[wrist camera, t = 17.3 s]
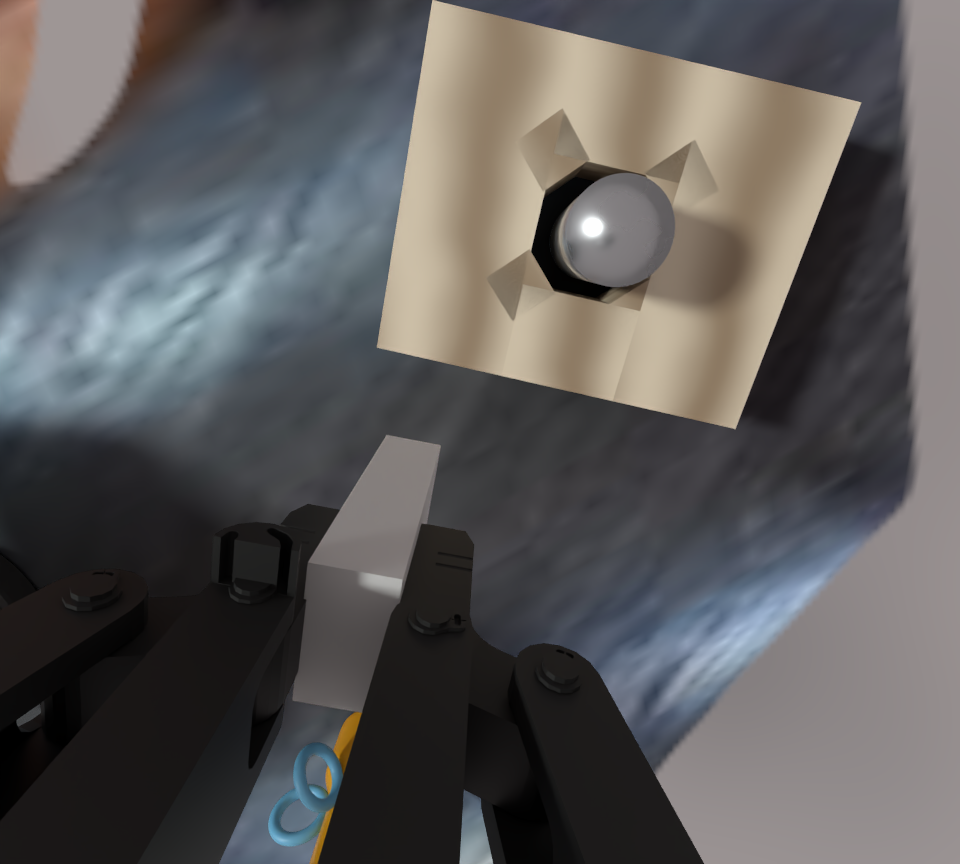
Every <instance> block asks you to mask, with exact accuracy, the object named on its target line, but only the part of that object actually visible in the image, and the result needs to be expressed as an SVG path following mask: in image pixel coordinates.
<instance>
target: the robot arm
mask: <svg viewBox="0 0 960 864" xmlns="http://www.w3.org/2000/svg"><path fill="white" fill-rule="evenodd" d="M440 448H441V445H436V444H431V443H426V442H421V441H415V440H410V439H405V438H400V437H394V436H389V435H386V437H385V438H384V440H383V442H382V443H381V445H380V447H379V448H378V450H377V451H376V453H375V455H374V456H373V458H372V459H371V461H370V463H369V464H368V466H367V468H366V469H365V471H364V472H363V474H362V476H361V477H360V479H359V480H358V482H357V484H356V485H355V487H354V489H353V490H352V492H351V493H350V495H349V497H348V498H347V500H346V501H345V503H344V505H343V506H342V508H341V510H338V509H332V508H327V507H322V506H316V505H311V504H307V505H305V506H303V507H301V508H299V509H297V510H295V511H292V512H290V513H289V515H288V516H287V517H286V518H285V520H284V521H283V522H282V523H281V525H280V526H279V525H276V524H271V523H259V522H254V523H244V524H237V525H234V526H231V527H228V528H224V529H223V530H221V531H219V532H218V533H216V534H215V535H213V543H212V562H211V582H210V583H209V584H208V586H207V587H206V588H205V589H204V590H203V591H202V592H201V594H200V595H195V596H184V597H157V598H148V587H147V584H146V582H145V580H144V579H143V578H142V577H140V576H138V575H137V574H135V573H133V572H129V571H124V570H119V569H96V570H91V571H86V572H81V573H76V574H73V575H71V576H68V577H66V578H63V579H60V580H58V581H56V582H54V583H52V584H50V585H48V586H46V587H44V588H42V589H40V590H38V591H36V590H35V589H34V587H33V586H32V584H31V583H30V582H29V581H28V579H27V578H26V577H25V576H24V575H23V574H22V573H21V572H20V571H19V570H18V569H17V568H16V567H15V566H14V565H13V564H12V563H11V562H9V561H8V560H7V559H6V558H4V557H3V556H2V555H0V864H219V862H220V860H221V858H222V856H223V853H224V851H225V849H226V847H227V845H228V842H229V840H230V838H231V836H232V833H233V831H234V829H235V827H236V825H237V822H238V820H239V818H240V816H241V814H242V811H243V809H244V807H245V805H246V803H247V800H248V798H249V796H250V794H251V792H252V789H253V787H254V785H255V783H256V781H257V778H258V776H259V774H260V772H261V770H262V767H263V765H264V763H265V761H266V758H267V756H268V754H269V752H270V750H271V747H272V745H273V743H274V741H275V739H276V736H277V734H278V732H279V730H280V728H281V723H282V718H283V712H284V703H285V698H286V696H287V694H288V692H289V690H290V688H291V685H292V683H293V681H294V679H295V682H294V691H293V699H292V701H296V702H302V703H308V704H314V705H320V706H325V707H331V708H337V709H343V710H349V711H355V712H360V713H362V714H361V717H360V721H359V724H358V727H357V731H356V734H355V738H354V741H353V744H352V748H351V751H350V755H349V758H348V761H347V765H346V768H345V772H344V775H343V778H342V782H341V785H340V788H339V792H338V795H337V799H336V802H335V805H334V809H333V812H332V816H331V819H330V822H329V826H328V829H327V833H326V836H325V839H324V843H323V846H322V850H321V853H320V856H319V860H318V863H317V864H459V861H460V844H461V826H462V809H463V792H464V789H465V790H466V791H468V792H470V793H472V794H474V795H476V796H478V797H480V798H481V809H482V813H483V818H484V823H485V827H486V832H487V836H488V841H489V845H490V850H491V855H492V859H493V864H704V863H703V861H702V859H701V857H700V855H699V854H698V852H697V850H696V848H695V846H694V845H693V843H692V841H691V839H690V837H689V836H688V834H687V832H686V830H685V829H684V827H683V825H682V823H681V821H680V819H679V818H678V816H677V814H676V812H675V810H674V809H673V807H672V805H671V803H670V801H669V800H668V798H667V796H666V794H665V792H664V791H663V789H662V787H661V785H660V783H659V781H658V780H657V778H656V776H655V774H654V772H653V771H652V769H651V767H650V765H649V763H648V762H647V760H646V758H645V756H644V754H643V752H642V751H641V749H640V747H639V745H638V743H637V742H636V740H635V738H634V736H633V734H632V733H631V731H630V729H629V727H628V725H627V724H626V722H625V720H624V718H623V716H622V715H621V713H620V711H619V709H618V707H617V706H616V704H615V702H614V700H613V698H612V697H611V695H610V693H609V691H608V689H607V687H606V686H605V684H604V682H603V680H602V678H601V677H600V675H599V673H598V672H597V671H596V670H595V668H594V667H593V666H592V665H591V663H590V662H589V661H587V660H586V659H585V658H583V657H582V656H580V655H579V654H578V653H576V652H574V651H572V650H569V649H567V648H564V647H562V646H559V645H552V644H545V643H543V644H537V645H530V646H529V647H527V648H525V649H524V650H522V651H521V652H520V653H519V655H518V657H517V658H516V657H514V656H511V655H509V654H507V653H504V652H502V651H500V650H498V649H496V648H494V647H492V646H491V645H489V644H488V643H487V642H485V641H484V640H483V639H481V638H480V636H479V635H478V634H477V633H476V632H475V631H474V629H473V627H472V622H471V618H470V615H469V613H470V598H471V583H472V568H473V552H474V544H473V542H472V541H471V539H470V538H469V536H468V534H467V533H466V531H460V530H455V529H450V528H444V527H439V526H434V525H428V524H427V519H428V513H429V508H430V502H431V497H432V491H433V486H434V480H435V475H436V470H437V464H438V459H439V453H440ZM38 704H40V705H41V714H39V715H38V716H36V717H35V718H34V719H32V720H31V721H29V722H27V723H25V724H23V725H21V726H19V727H18V726H17V723H16V720H17V719H18V718H20V717H21V716H23V715H24V714H26V713H27V712H28V711H30V710H31V709H33V708H34V707H35V706H37V705H38Z"/></svg>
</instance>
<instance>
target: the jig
mask: <svg viewBox="0 0 960 864" xmlns="http://www.w3.org/2000/svg"><path fill="white" fill-rule="evenodd" d="M860 105H861V102H857V101H853V100H849V99H844V98H840V97H836V96H832V95H828V94H824V93H819V92H815V91H811V90H807V89H803V88H798V87H794V86H790V85H786V84H782V83H777V82H773V81H769V80H765V79H761V78H756V77H752V76H748V75H744V74H740V73H735V72H731V71H727V70H723V69H719V68H715V67H710V66H706V65H702V64H698V63H694V62H689V61H685V60H681V59H677V58H673V57H668V56H664V55H660V54H656V53H652V52H647V51H643V50H639V49H635V48H631V47H627V46H622V45H618V44H614V43H610V42H606V41H601V40H597V39H593V38H589V37H585V36H580V35H576V34H572V33H568V32H564V31H559V30H555V29H551V28H547V27H543V26H538V25H534V24H530V23H526V22H522V21H518V20H513V19H509V18H505V17H501V16H497V15H492V14H488V13H484V12H480V11H476V10H471V9H467V8H463V7H459V6H455V5H450V4H446V3H442V2H438V1H434V0H433V1H432V7H431V13H430V19H429V26H428V32H427V38H426V44H425V51H424V57H423V63H422V69H421V76H420V82H419V88H418V94H417V100H416V107H415V113H414V119H413V125H412V132H411V138H410V144H409V150H408V157H407V163H406V169H405V175H404V182H403V188H402V194H401V200H400V207H399V213H398V219H397V225H396V232H395V238H394V244H393V250H392V257H391V263H390V269H389V275H388V282H387V288H386V294H385V300H384V307H383V313H382V319H381V325H380V332H379V338H378V344H377V348H382V349H386V350H390V351H395V352H399V353H404V354H408V355H412V356H417V357H421V358H426V359H430V360H434V361H439V362H443V363H448V364H452V365H456V366H461V367H465V368H470V369H474V370H478V371H483V372H487V373H492V374H496V375H500V376H505V377H509V378H514V379H518V380H522V381H527V382H531V383H536V384H540V385H544V386H549V387H553V388H558V389H562V390H566V391H571V392H575V393H580V394H584V395H588V396H593V397H597V398H602V399H606V400H610V401H615V402H619V403H624V404H628V405H632V406H637V407H641V408H646V409H650V410H654V411H659V412H663V413H668V414H672V415H676V416H681V417H685V418H690V419H694V420H698V421H703V422H707V423H711V424H716V425H720V426H725V427H729V428H733V429H736V426H737V424H738V421H739V418H740V416H741V413H742V411H743V408H744V405H745V403H746V400H747V398H748V395H749V392H750V390H751V387H752V385H753V382H754V379H755V377H756V374H757V372H758V369H759V367H760V364H761V361H762V359H763V356H764V354H765V351H766V348H767V346H768V343H769V341H770V338H771V335H772V333H773V330H774V328H775V325H776V322H777V320H778V317H779V315H780V312H781V309H782V307H783V304H784V302H785V299H786V296H787V294H788V291H789V289H790V286H791V284H792V281H793V278H794V276H795V273H796V271H797V268H798V265H799V263H800V260H801V258H802V255H803V252H804V250H805V247H806V245H807V242H808V239H809V237H810V234H811V232H812V229H813V226H814V224H815V221H816V219H817V216H818V214H819V211H820V208H821V206H822V203H823V201H824V198H825V195H826V193H827V190H828V188H829V185H830V182H831V180H832V177H833V175H834V172H835V169H836V167H837V164H838V162H839V159H840V156H841V154H842V151H843V149H844V146H845V143H846V141H847V138H848V136H849V133H850V131H851V128H852V125H853V123H854V120H855V118H856V115H857V112H858V110H859V107H860ZM618 173H632V174H638V175H641V176H644V177H646V178H648V179H650V180H651V181H653V182H654V183H656V184H657V185H658V186H659V187H660V188H661V189H662V190H663V191H664V192H665V194H666V195H667V197H668V199H669V200H670V203H671V205H672V208H673V212H674V217H675V235H674V240H673V244H672V246H671V249H670V251H669V253H668V255H667V257H666V259H665V260H664V262H663V263H662V264H661V266H660V267H659V268H658V269H657V270H656V271H655V272H654V273H653V274H652V275H650V276H649V277H647V278H646V279H644V280H642V281H640V282H638V283H636V284H633V285H629V286H624V287H611V288H610V289H608V290H607V291H605V292H603V293H602V294H600V295H599V296H597V297H595V298H593V297H589V296H584V295H580V294H576V293H571V292H567V291H563V290H558V289H554V288H552V287H551V285H550V284H549V282H548V280H547V278H546V277H545V275H544V273H543V272H542V270H541V268H540V266H539V265H538V263H537V261H536V259H535V258H534V256H533V254H532V253H531V249H532V245H533V240H534V236H535V232H536V228H537V223H538V219H539V215H540V211H541V206H542V202H543V198H545V197H546V196H548V195H549V194H551V193H552V192H554V191H555V190H557V189H558V188H559V187H561V186H562V185H564V184H565V183H567V182H568V181H570V180H571V179H573V178H574V177H578V178H582V179H587V180H591V181H595V182H596V181H598V180H599V179H601V178H604V177H606V176H609V175H613V174H618Z"/></svg>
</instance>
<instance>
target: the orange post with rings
mask: <svg viewBox="0 0 960 864" xmlns="http://www.w3.org/2000/svg"><path fill="white" fill-rule="evenodd" d="M361 714H362V713H360V712H354V713H353V714H352V715H350V716H349V717H348V718H347V719H346V721H345V722H344V723H343V725H342V728H341V730H340V733H339V736H338V739H337V741H336V744H335V747H334V750H332V749H331V748H330V747H328V746H327V745H325V744H323V743H318V742H315V743H311V744H308V745H307V746H305V747H304V748H303V749H302V750H301V751H300V753H299V754H298V756H297V758H296V761H295V765H294V771H293V779H294V785H295V788H294V789H292V790H291V791H289V792H288V793H286V794H285V795H284V796H283V797H282V798H281V799H280V800H279V801H278V802H277V803H276V805H275V806H274V808H273V810H272V812H271V814H270V818H269V824H268V826H269V832H270V835H271V837H272V839H273V840H274V841H275V842H277V843H278V844H280V845H283V846H297V845H301V844H304V843H306V842H308V841H309V840H311V839H312V838H314V837H315V836H316V835H317V834H318V833H319V836H318V839H317V842H316V845H315V848H314V851H313V854H312V857H311V860H310V863H309V864H317V863H318V860H319V856H320V853H321V850H322V846H323V843H324V839H325V836H326V833H327V829H328V826H329V822H330V819H331V816H332V812H333V809H334V805H335V802H336V799H337V795H338V792H339V788H340V785H341V782H342V778H343V775H344V772H345V768H346V765H347V761H348V758H349V755H350V751H351V748H352V744H353V741H354V738H355V734H356V731H357V727H358V724H359V721H360V717H361ZM313 755H318V756H320V757H322V758H323V759H324V760H325V761H326V763H327V764H328V767H327V770H326V786H327V791H328V792H327V791H326V790H325V789H324V788H322V787H321V786H318V785H313V784H308V783H307V780H306V765H307V762H308V760H309V758H310V757H311V756H313ZM298 799H300V800H301V802H302V803H303V804H304V805H305V806H306V807H307V808H308V809H309V810H311V811H313V812H317V813H319V815H318V816H317V818H316V819H315V821H314V822H313V823H312V824H311V825H309V826H308V827H307V828H305V829H303V830H301V831H297V832H288V831H285V830H284V829H283V828H282V827H281V824H280V820H281V816H282V814H283V812H284V811H285V809H286V808H287V807H288V806H289V805H290V804H291V803H293V802H294V801H296V800H298Z"/></svg>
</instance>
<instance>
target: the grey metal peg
mask: <svg viewBox="0 0 960 864" xmlns="http://www.w3.org/2000/svg"><path fill="white" fill-rule="evenodd" d="M674 235H675V217H674V212H673V208H672V205H671V203H670V200H669V199H668V197H667V195H666V194H665V192H664V191H663V190H662V189H661V188H660V187H659V186H658V185H657V184H656V183H654V182H653V181H651V180H650V179H648V178H646V177H644V176H641V175H638V174H632V173H618V174H613V175H609V176H606V177H604V178H601V179H599V180H598V181H596V182H594V183H593V184H592V185H590V186H589V187H588V188H587V189H586V190H585V191H584V192H583V193H582V194H581V195H579V196H578V197H577V198H576V199H575V200H574V201H573V202H572V203H571V204H570V205H569V206H568V207H567V208H566V209H565V210H564V211H563V212H562V213H561V214H560V215H559V216H558V218H557V219H556V221H555V222H554V225H553V227H552V230H551V233H550V242H549V244H550V251H551V255H552V258H553V260H554V262H555V263H556V265H557V266H558V267H559V269H560V270H561V271H563V272H564V273H565V274H567V275H568V276H570V277H573V278H576V279H580V280H584V281H588V282H592V283H596V284H600V285H604V286H609V287H624V286H629V285H633V284H636V283H638V282H640V281H642V280H644V279H646V278H647V277H649V276H650V275H652V274H653V273H654V272H655V271H656V270H657V269H658V268H659V267H660V266H661V264H662V263H663V262H664V260H665V259H666V257H667V255H668V253H669V251H670V249H671V246H672V244H673V240H674Z"/></svg>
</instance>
